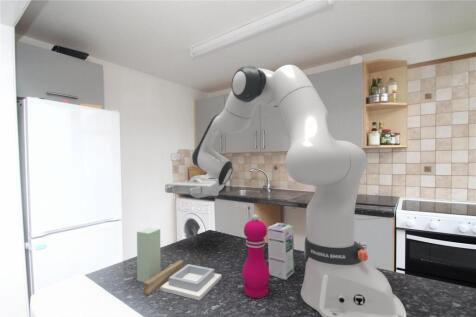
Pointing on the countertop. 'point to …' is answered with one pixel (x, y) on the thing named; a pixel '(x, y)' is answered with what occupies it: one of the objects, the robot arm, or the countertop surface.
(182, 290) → the grey keeper socket
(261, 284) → the pepper mill
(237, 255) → the countertop surface
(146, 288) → the oak board
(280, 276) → the syrup box
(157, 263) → the sage bar
